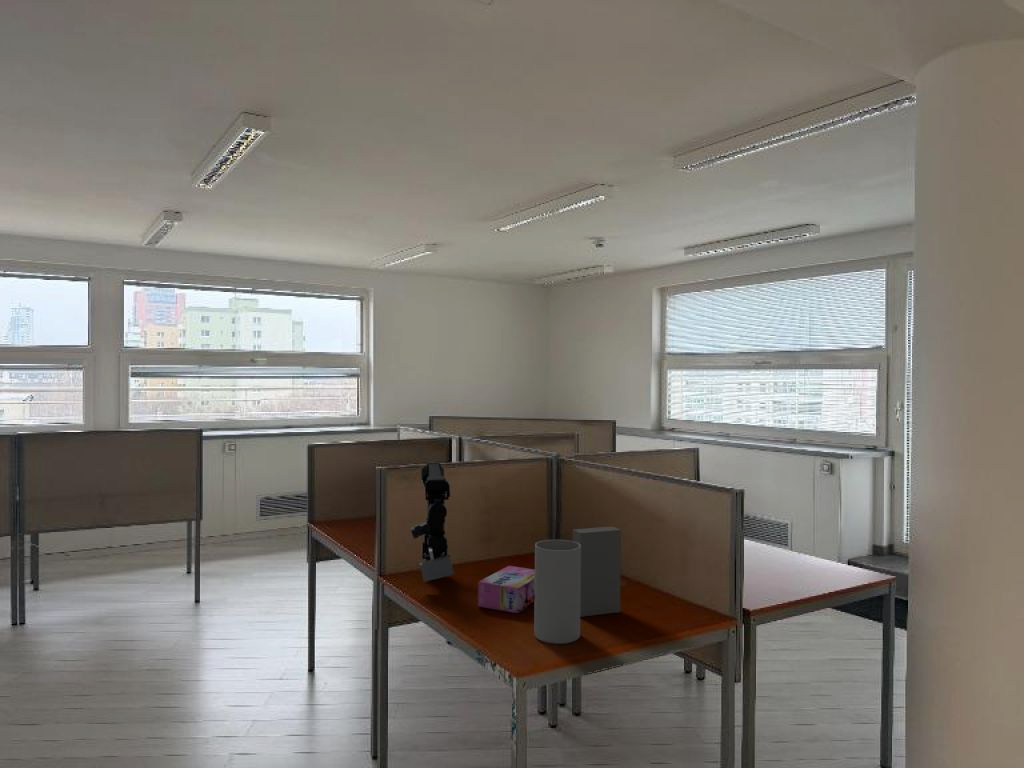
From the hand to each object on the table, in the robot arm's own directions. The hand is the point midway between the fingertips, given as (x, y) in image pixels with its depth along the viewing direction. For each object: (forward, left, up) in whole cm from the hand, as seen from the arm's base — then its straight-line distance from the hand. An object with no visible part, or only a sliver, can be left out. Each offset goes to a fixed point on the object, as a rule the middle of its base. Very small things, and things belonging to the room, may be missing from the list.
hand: (435, 561), depth 241 cm
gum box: (+16, +17, -4) cm, 24 cm away
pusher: (+3, +1, -3) cm, 4 cm away
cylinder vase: (+52, +30, -8) cm, 61 cm away
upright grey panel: (+34, +46, -8) cm, 58 cm away
